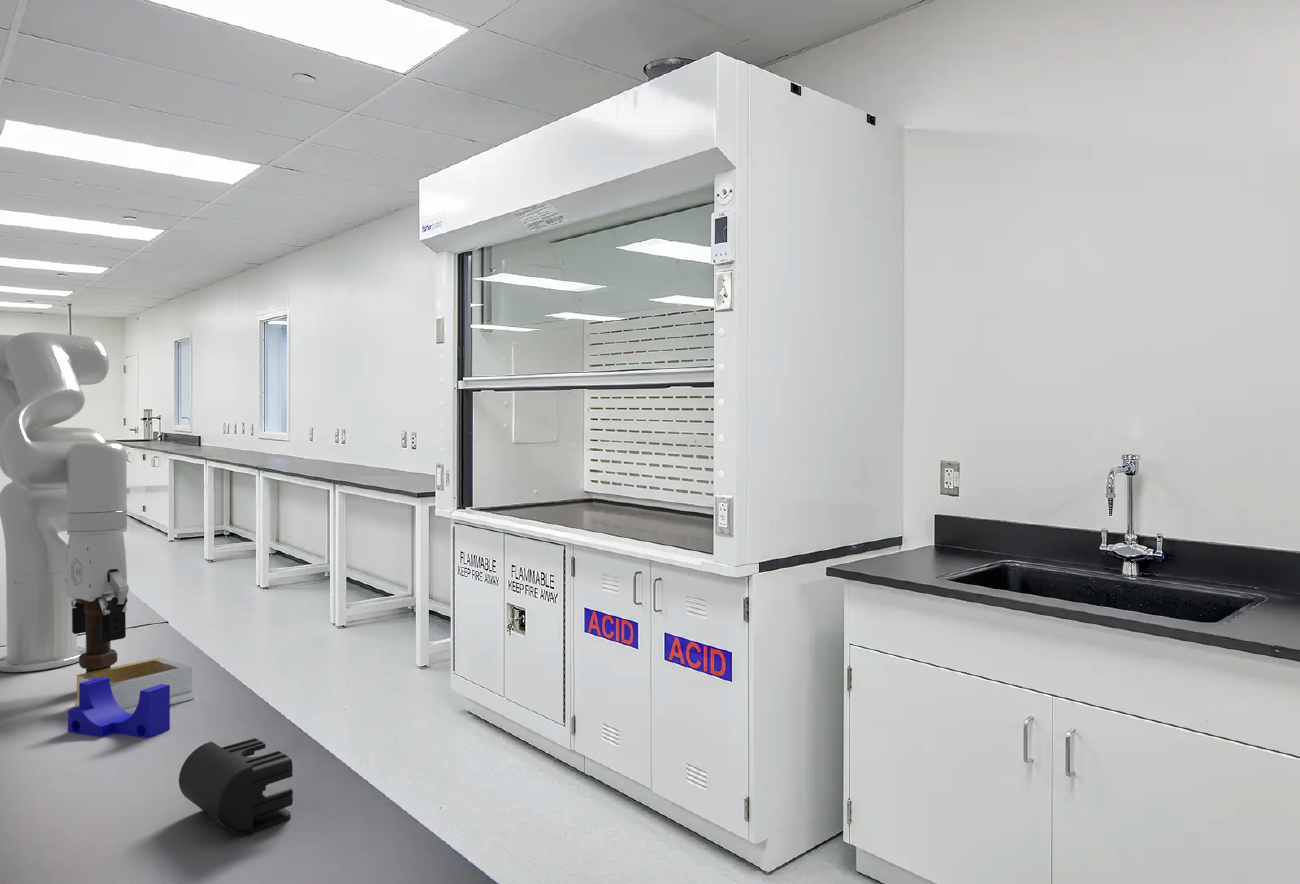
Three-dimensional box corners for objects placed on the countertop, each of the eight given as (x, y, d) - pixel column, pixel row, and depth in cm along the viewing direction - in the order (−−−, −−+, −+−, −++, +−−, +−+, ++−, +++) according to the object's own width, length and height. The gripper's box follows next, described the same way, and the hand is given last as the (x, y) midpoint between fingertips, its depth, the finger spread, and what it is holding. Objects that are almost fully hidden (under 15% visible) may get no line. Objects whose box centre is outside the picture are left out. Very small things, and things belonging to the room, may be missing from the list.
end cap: (178, 817, 79) (177, 749, 79) (251, 792, 85) (250, 729, 85) (218, 850, 73) (218, 776, 73) (295, 821, 78) (294, 753, 78)
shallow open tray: (74, 706, 113) (74, 674, 112) (157, 685, 122) (157, 656, 122) (109, 721, 106) (109, 687, 106) (194, 698, 116) (194, 667, 116)
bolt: (95, 695, 117) (94, 594, 117) (67, 693, 118) (66, 592, 118) (128, 683, 123) (128, 586, 123) (101, 681, 124) (100, 585, 124)
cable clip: (67, 733, 102) (67, 686, 102) (101, 721, 107) (101, 677, 107) (138, 743, 99) (138, 695, 99) (169, 731, 103) (169, 685, 103)
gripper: (45, 522, 122) (46, 634, 122) (94, 528, 113) (95, 649, 113) (100, 518, 129) (101, 624, 129) (151, 523, 119) (152, 638, 119)
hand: (98, 635), depth 121 cm, fingers open, 9 cm apart
